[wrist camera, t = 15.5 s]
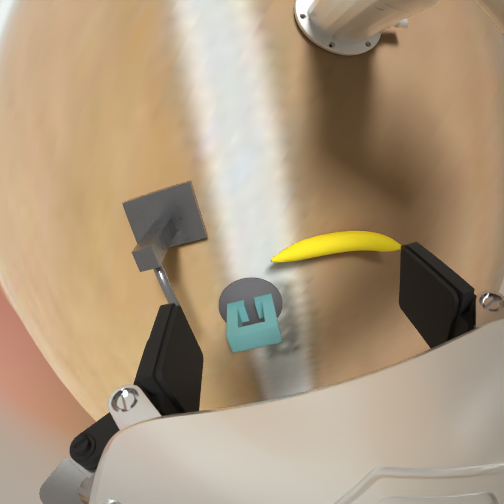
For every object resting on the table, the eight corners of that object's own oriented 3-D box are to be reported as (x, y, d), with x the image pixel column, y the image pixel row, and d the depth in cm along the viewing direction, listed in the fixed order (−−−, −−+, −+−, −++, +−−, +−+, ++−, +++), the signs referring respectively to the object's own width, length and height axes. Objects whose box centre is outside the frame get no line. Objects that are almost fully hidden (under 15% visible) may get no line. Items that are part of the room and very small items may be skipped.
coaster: (275, 270, 43) (275, 272, 42) (286, 321, 47) (287, 323, 46) (210, 286, 43) (210, 287, 43) (228, 334, 47) (228, 336, 47)
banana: (265, 236, 40) (271, 255, 35) (386, 223, 41) (407, 238, 35) (267, 254, 42) (272, 276, 36) (385, 240, 42) (405, 257, 36)
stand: (190, 180, 36) (173, 201, 26) (227, 294, 44) (225, 343, 34) (124, 201, 37) (89, 229, 27) (167, 306, 44) (153, 355, 34)
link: (271, 293, 44) (278, 326, 36) (275, 308, 45) (282, 341, 38) (227, 303, 44) (226, 337, 37) (232, 318, 45) (232, 352, 38)
